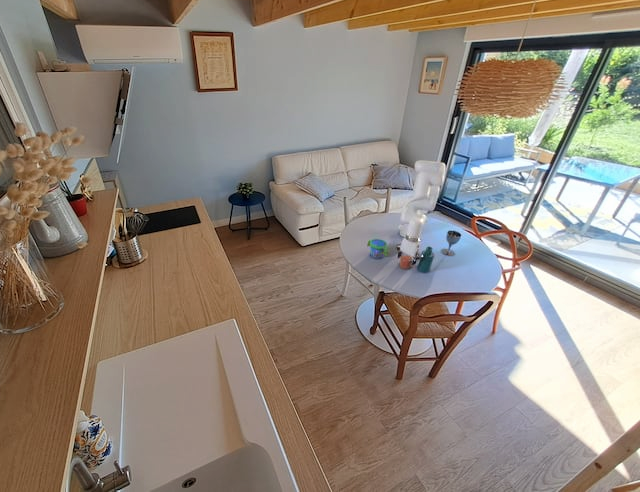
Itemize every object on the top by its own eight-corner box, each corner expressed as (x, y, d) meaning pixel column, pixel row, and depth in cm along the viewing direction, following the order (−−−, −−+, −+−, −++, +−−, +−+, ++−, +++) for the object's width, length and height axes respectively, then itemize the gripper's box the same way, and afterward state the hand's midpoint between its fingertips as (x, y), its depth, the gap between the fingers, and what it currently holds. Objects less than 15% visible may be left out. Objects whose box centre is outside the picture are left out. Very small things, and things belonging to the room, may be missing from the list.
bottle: (415, 268, 178) (421, 247, 170) (421, 264, 182) (427, 243, 174) (425, 274, 173) (432, 252, 166) (431, 269, 177) (438, 248, 169)
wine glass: (456, 256, 189) (463, 237, 181) (443, 255, 190) (449, 236, 183) (452, 249, 195) (458, 231, 188) (439, 248, 197) (445, 230, 189)
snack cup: (362, 251, 195) (364, 239, 190) (374, 247, 199) (376, 235, 194) (378, 264, 182) (380, 251, 177) (390, 259, 186) (393, 246, 181)
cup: (397, 265, 181) (399, 257, 178) (403, 261, 185) (404, 253, 182) (406, 270, 177) (408, 262, 174) (412, 266, 180) (414, 258, 177)
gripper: (429, 241, 166) (422, 265, 174) (402, 229, 178) (397, 252, 186) (422, 246, 162) (416, 269, 170) (395, 233, 174) (390, 256, 182)
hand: (406, 260), depth 178 cm, fingers open, 9 cm apart
